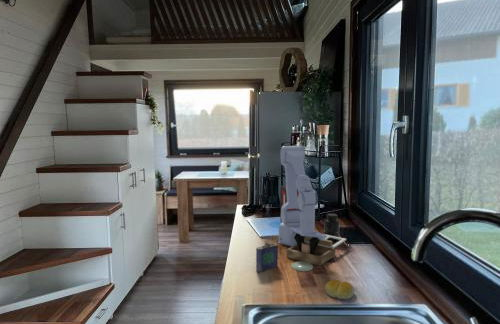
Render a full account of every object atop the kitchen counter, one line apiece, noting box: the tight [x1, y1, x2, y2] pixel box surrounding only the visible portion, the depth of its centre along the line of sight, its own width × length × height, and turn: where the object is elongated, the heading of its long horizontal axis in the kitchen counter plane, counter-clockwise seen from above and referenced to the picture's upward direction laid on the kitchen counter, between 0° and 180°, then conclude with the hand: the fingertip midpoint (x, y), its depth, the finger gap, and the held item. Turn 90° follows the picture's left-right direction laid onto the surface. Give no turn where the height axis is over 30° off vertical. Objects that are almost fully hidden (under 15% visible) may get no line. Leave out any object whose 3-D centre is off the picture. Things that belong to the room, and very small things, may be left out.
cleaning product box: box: [279, 184, 299, 223], centre depth 190 cm, size 16×9×20 cm, turn 6°
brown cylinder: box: [301, 241, 310, 254], centre depth 144 cm, size 4×4×6 cm
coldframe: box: [286, 244, 336, 267], centre depth 146 cm, size 15×13×4 cm
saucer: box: [291, 261, 314, 272], centre depth 136 cm, size 8×8×1 cm
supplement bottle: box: [323, 213, 341, 243], centre depth 167 cm, size 7×7×12 cm
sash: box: [304, 235, 347, 249], centre depth 155 cm, size 15×13×3 cm
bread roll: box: [324, 279, 356, 300], centre depth 116 cm, size 8×9×4 cm
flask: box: [255, 240, 279, 273], centre depth 134 cm, size 9×3×11 cm, turn 121°
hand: (306, 253), depth 145 cm, fingers closed on brown cylinder, 4 cm apart
